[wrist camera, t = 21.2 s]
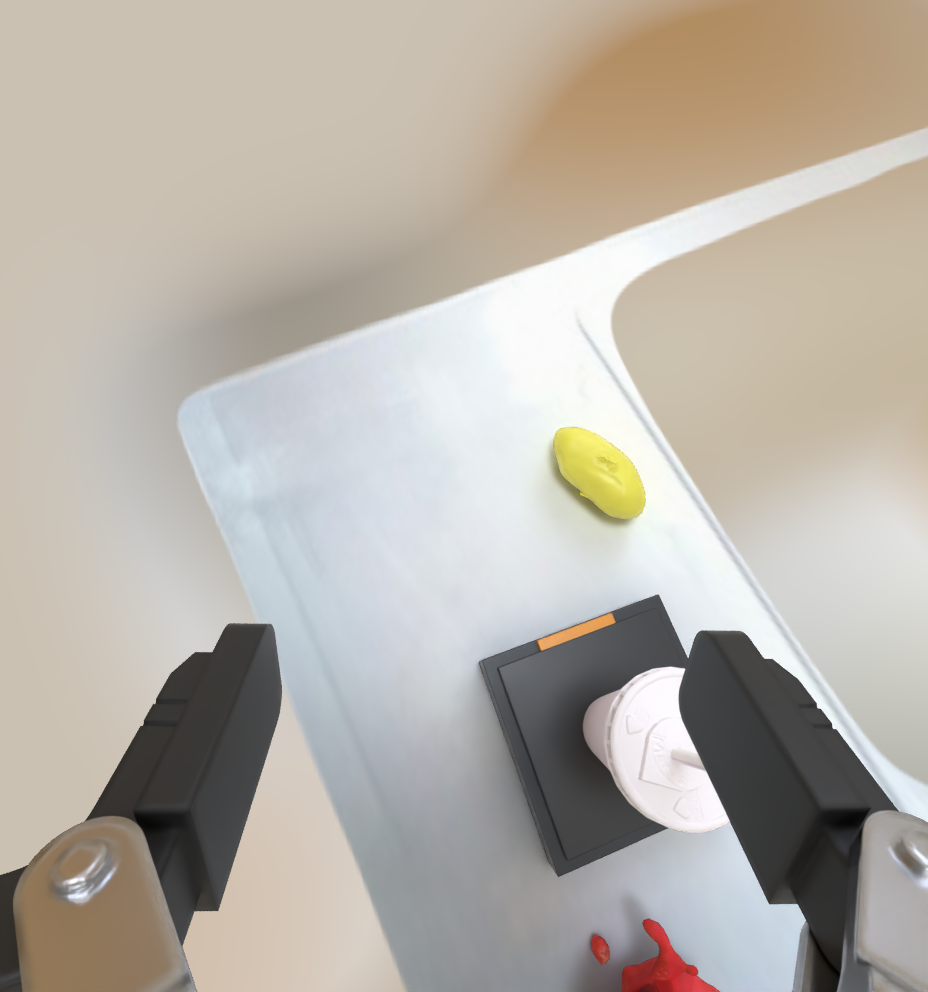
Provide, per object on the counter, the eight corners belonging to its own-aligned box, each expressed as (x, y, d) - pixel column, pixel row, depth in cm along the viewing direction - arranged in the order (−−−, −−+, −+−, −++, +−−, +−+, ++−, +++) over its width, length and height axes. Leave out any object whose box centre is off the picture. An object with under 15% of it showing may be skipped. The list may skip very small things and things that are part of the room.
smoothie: (538, 705, 33) (612, 722, 19) (629, 650, 34) (756, 630, 21) (598, 813, 31) (724, 913, 18) (691, 751, 32) (873, 801, 19)
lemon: (607, 540, 39) (625, 526, 35) (534, 454, 41) (544, 432, 37) (650, 506, 40) (672, 488, 36) (576, 423, 42) (591, 398, 38)
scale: (549, 863, 33) (560, 881, 30) (478, 661, 36) (482, 660, 33) (728, 784, 35) (754, 794, 32) (645, 599, 38) (662, 592, 35)
